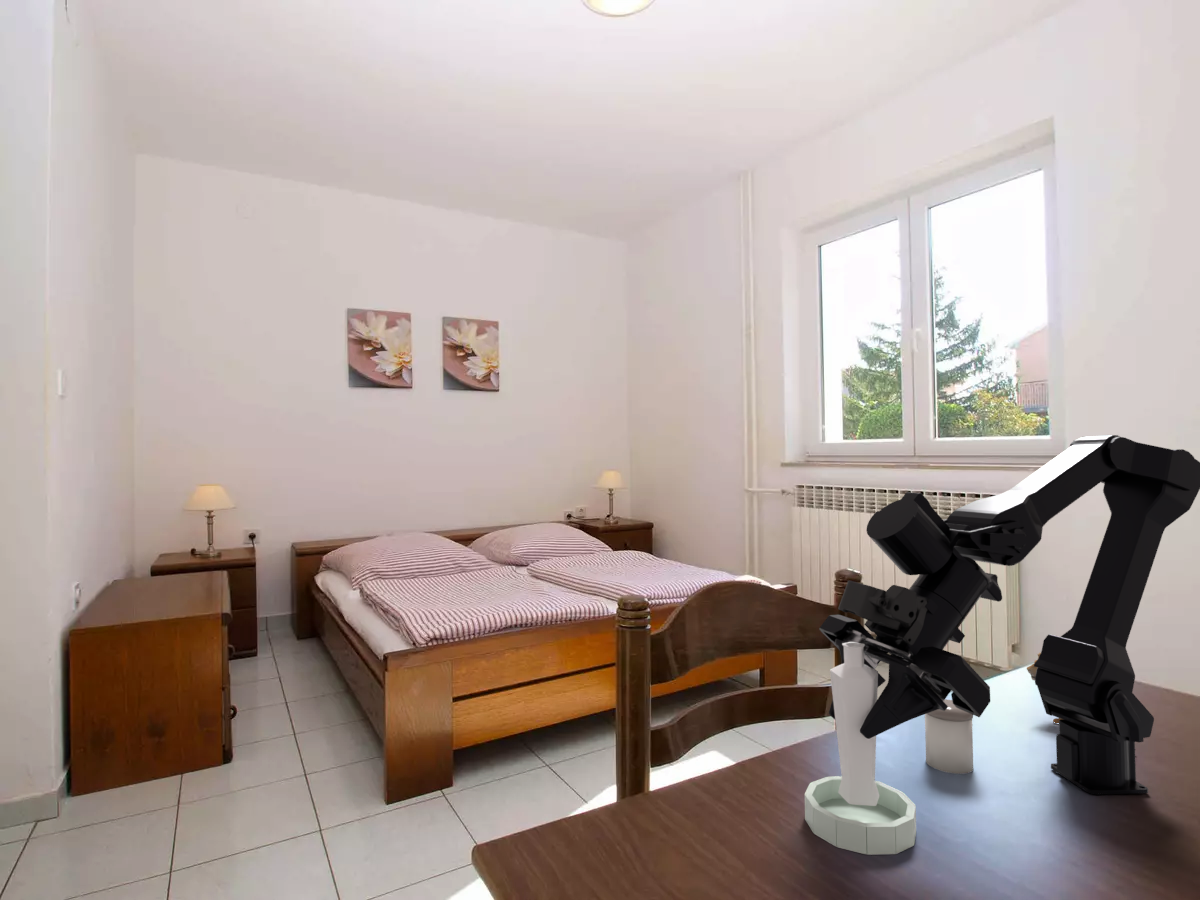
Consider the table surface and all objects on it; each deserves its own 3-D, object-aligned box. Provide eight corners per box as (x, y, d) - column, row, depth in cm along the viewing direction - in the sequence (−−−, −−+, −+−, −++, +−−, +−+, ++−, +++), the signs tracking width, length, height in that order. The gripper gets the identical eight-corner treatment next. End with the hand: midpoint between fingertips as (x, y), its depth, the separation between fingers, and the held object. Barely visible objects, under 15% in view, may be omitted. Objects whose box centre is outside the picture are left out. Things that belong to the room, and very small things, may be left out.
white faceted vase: (894, 806, 65) (888, 649, 65) (851, 810, 64) (845, 652, 64) (870, 783, 69) (865, 637, 69) (829, 787, 69) (824, 639, 69)
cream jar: (958, 754, 82) (957, 698, 82) (983, 773, 77) (982, 714, 77) (916, 755, 82) (915, 699, 82) (938, 774, 77) (937, 714, 77)
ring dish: (887, 799, 71) (886, 775, 72) (935, 853, 61) (935, 825, 62) (793, 800, 71) (793, 777, 71) (827, 855, 61) (826, 827, 61)
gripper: (831, 543, 77) (747, 649, 74) (960, 565, 59) (857, 707, 56) (891, 606, 79) (812, 712, 76) (1033, 646, 61) (938, 788, 58)
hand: (847, 726), depth 66 cm, fingers closed on white faceted vase, 4 cm apart
